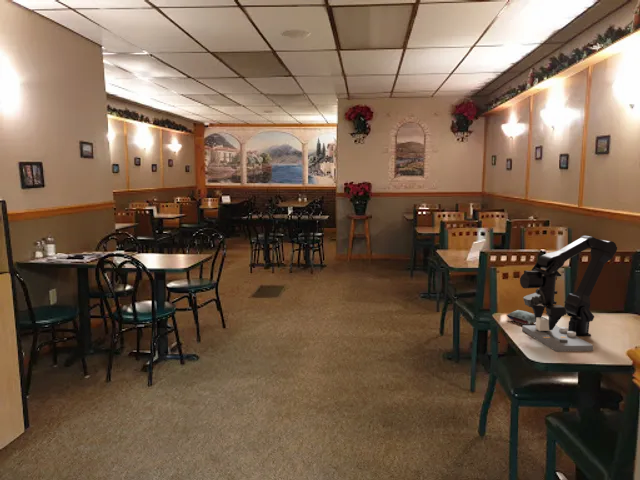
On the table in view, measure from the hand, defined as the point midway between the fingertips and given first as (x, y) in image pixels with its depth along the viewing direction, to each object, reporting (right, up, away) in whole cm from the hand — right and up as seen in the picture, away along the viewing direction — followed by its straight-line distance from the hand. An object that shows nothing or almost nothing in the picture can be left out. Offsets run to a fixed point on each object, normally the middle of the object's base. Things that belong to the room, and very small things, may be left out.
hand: (544, 326), depth 188 cm
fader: (0, -1, 0) cm, 1 cm away
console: (+2, -4, -4) cm, 7 cm away
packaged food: (0, -2, +18) cm, 18 cm away
